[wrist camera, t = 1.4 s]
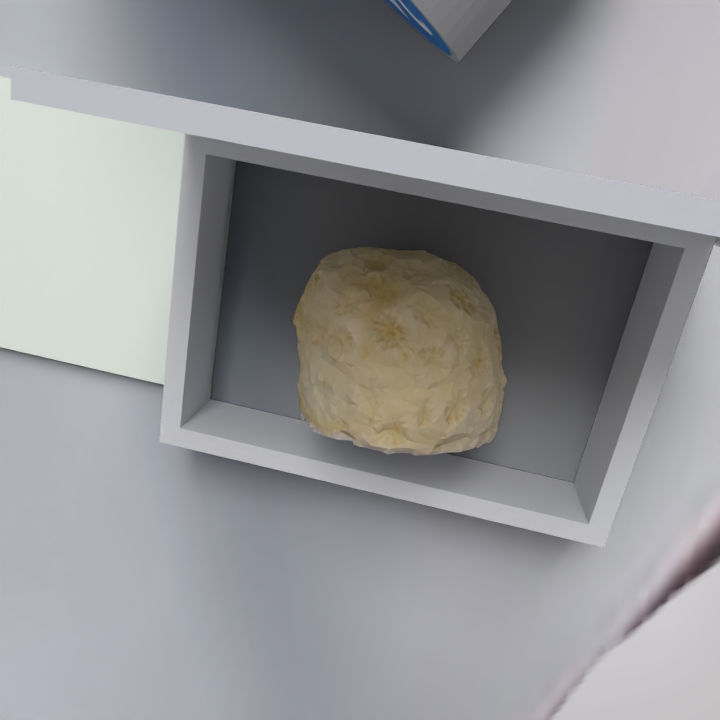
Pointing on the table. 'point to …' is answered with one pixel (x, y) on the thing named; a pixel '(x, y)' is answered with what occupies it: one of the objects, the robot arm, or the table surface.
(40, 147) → the mat
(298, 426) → the case
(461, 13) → the sign
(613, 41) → the table surface
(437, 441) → the coral
